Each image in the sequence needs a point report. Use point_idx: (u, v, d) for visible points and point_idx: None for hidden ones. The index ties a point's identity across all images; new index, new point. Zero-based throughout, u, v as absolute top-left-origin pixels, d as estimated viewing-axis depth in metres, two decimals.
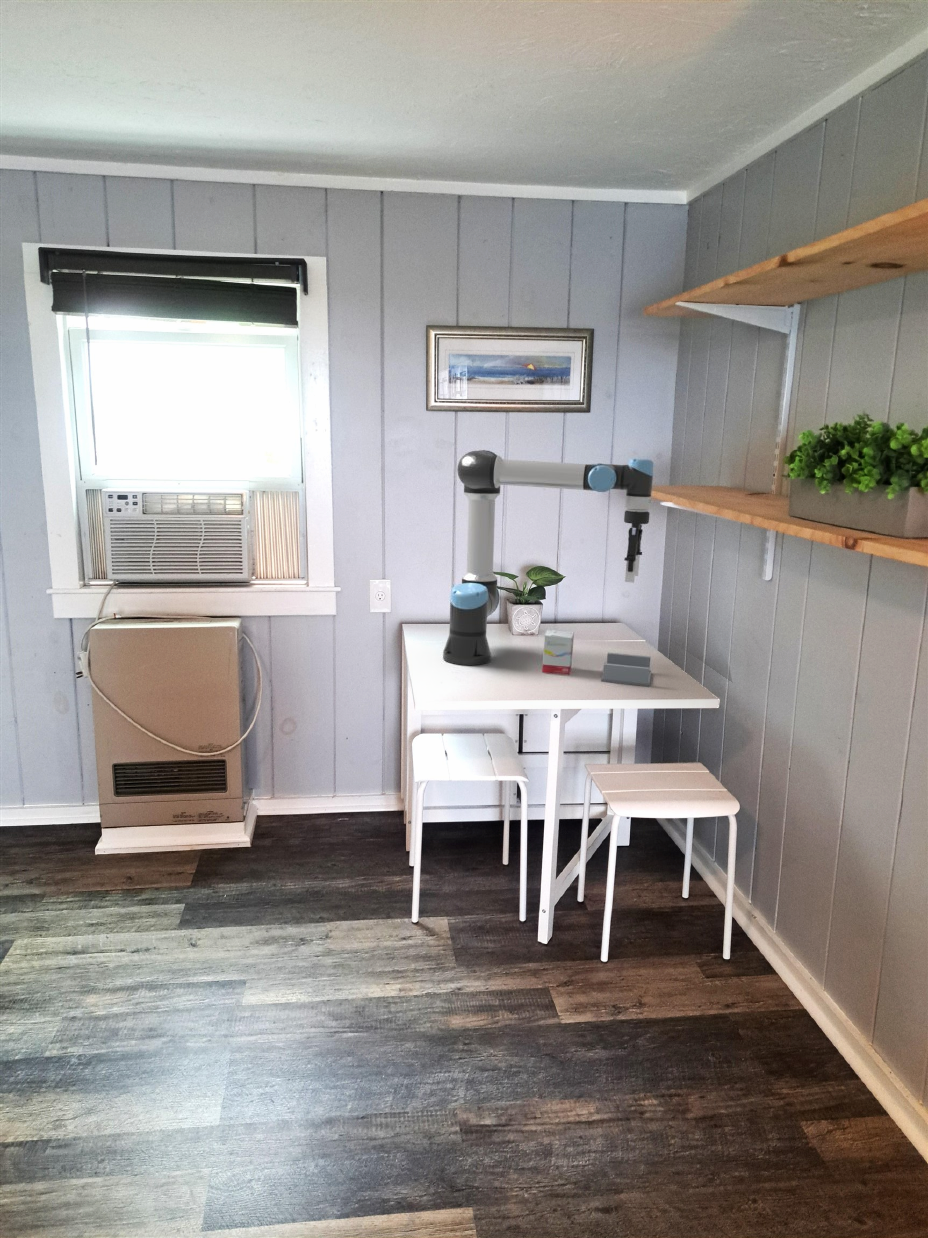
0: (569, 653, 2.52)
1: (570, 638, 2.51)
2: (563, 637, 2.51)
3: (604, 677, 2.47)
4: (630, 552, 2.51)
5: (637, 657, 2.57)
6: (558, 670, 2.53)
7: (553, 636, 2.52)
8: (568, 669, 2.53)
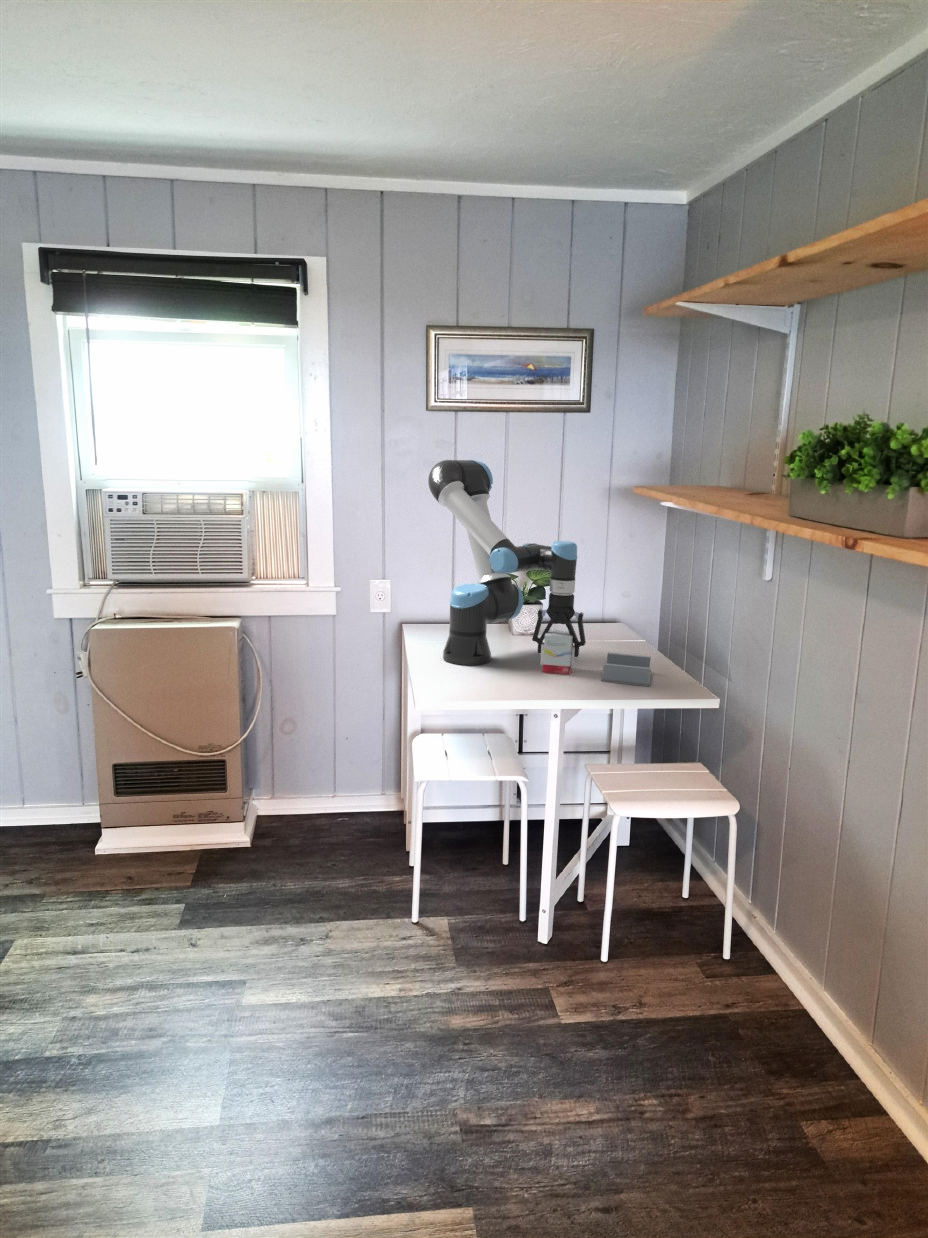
0: (569, 653, 2.52)
1: (570, 638, 2.51)
2: (563, 637, 2.51)
3: (604, 677, 2.47)
4: None
5: (637, 657, 2.57)
6: (558, 670, 2.53)
7: (553, 636, 2.52)
8: (568, 669, 2.53)
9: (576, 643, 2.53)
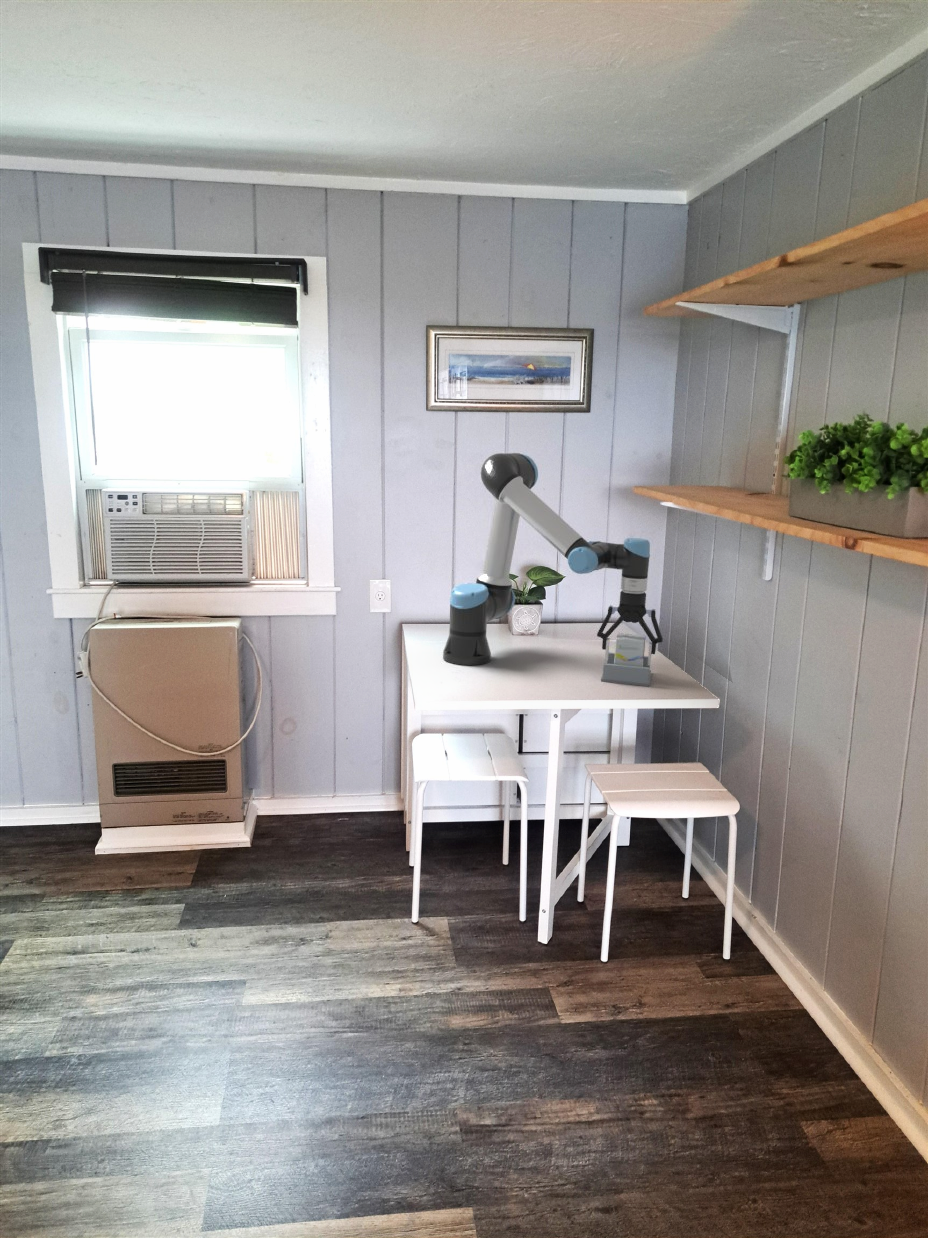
0: (641, 657, 2.47)
1: (643, 642, 2.46)
2: (635, 641, 2.46)
3: (604, 677, 2.47)
4: None
5: None
6: None
7: (625, 640, 2.47)
8: None
9: (653, 640, 2.48)
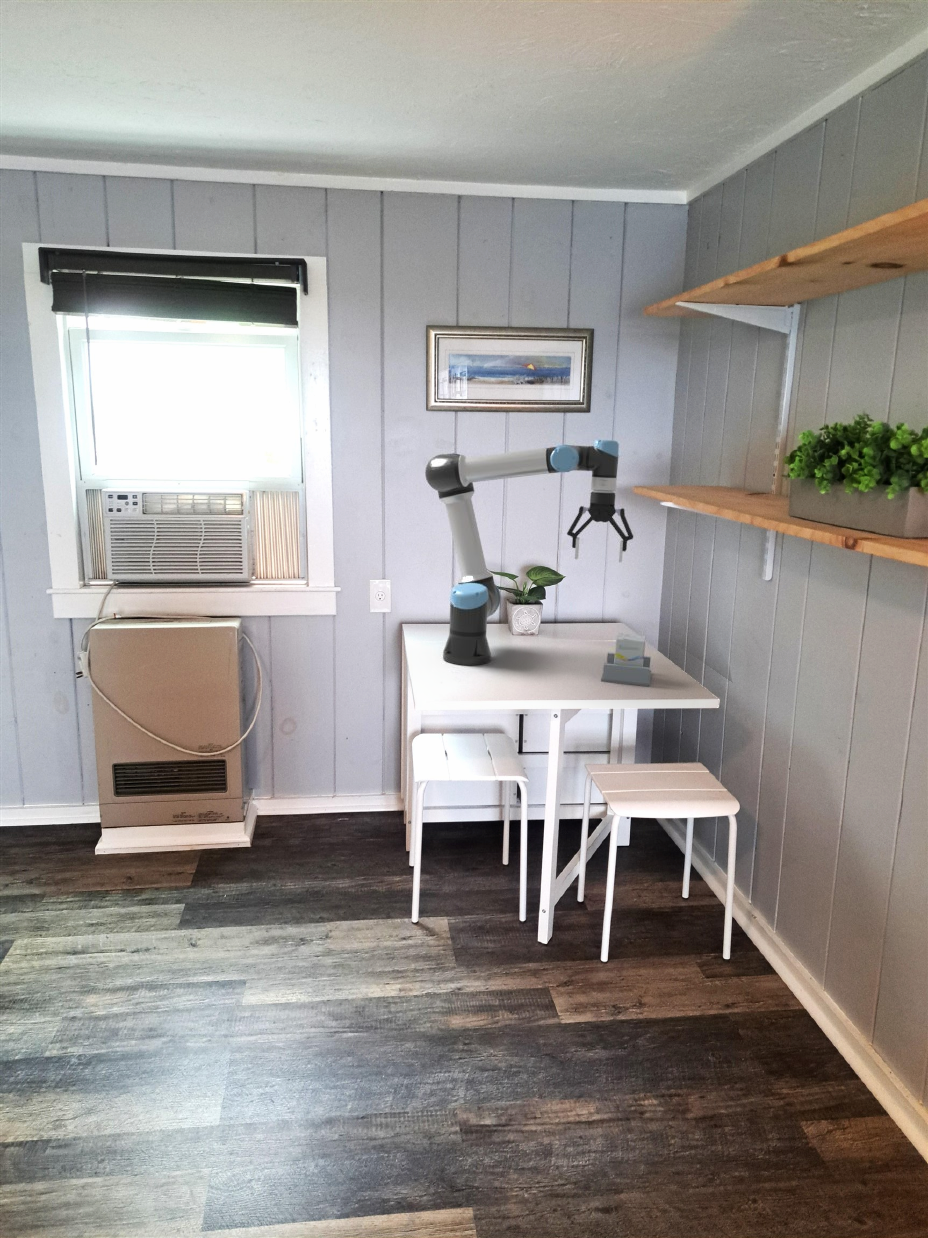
0: (641, 657, 2.47)
1: (643, 642, 2.46)
2: (635, 641, 2.46)
3: (604, 677, 2.47)
4: None
5: None
6: None
7: (625, 640, 2.47)
8: None
9: (624, 537, 2.57)
